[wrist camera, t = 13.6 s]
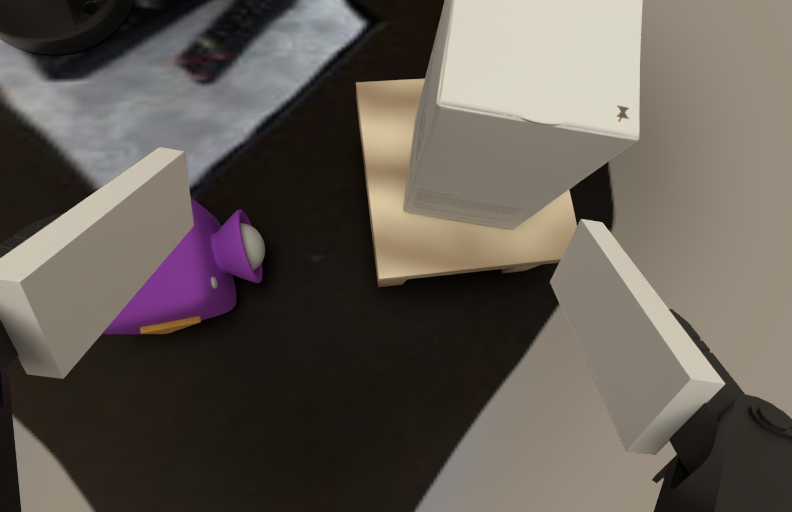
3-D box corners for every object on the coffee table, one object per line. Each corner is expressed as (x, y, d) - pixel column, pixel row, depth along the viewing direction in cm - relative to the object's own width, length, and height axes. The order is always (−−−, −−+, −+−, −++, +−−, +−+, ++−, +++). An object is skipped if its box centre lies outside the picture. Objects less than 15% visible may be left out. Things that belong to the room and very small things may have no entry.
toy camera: (291, 290, 39) (269, 275, 30) (150, 355, 37) (75, 362, 27) (247, 192, 41) (212, 147, 31) (108, 249, 38) (23, 220, 29)
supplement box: (524, 127, 34) (652, -34, 19) (514, 232, 32) (648, 143, 17) (415, 107, 33) (460, -75, 18) (399, 212, 31) (435, 104, 17)
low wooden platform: (356, 140, 43) (356, 82, 33) (503, 129, 45) (544, 72, 35) (373, 292, 40) (378, 279, 30) (530, 275, 42) (583, 256, 32)
